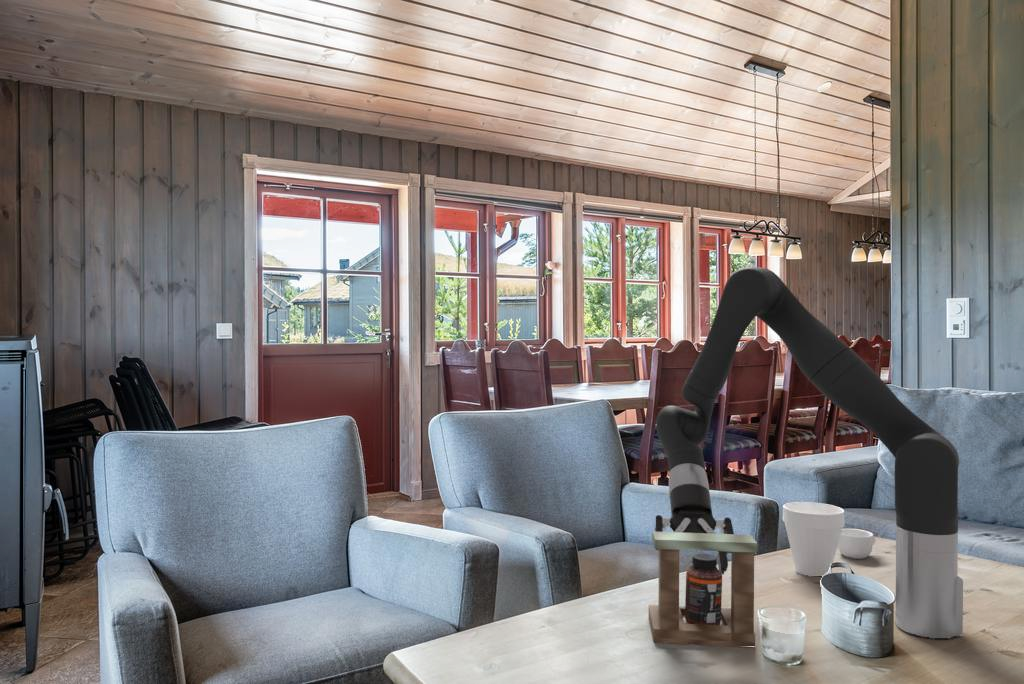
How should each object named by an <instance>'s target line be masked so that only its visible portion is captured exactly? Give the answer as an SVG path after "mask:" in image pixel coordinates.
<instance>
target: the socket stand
mask: <svg viewBox="0 0 1024 684" xmlns="http://www.w3.org/2000/svg"><path fill="white" fill-rule="evenodd" d="M651 541H652V545H653V547H654V549H655V550H656V549H659V550H658V605H657V604H648V621H649V627H650V631H651V636H652V641H653V643H655V644H656V643H657V644H673V645H674V644H675V645H677V644H678V645H694V646H695V645H696V646H697V645H699V646H716V647H732V646H733V647H734V646H740V647H739V648H742V647H741V646H755V647H756V633H755V631H754V629H755V625H754V624H755V553H758V542H757V541H756V540H755V539H754V537H753V536H752V535H751V534H741V533H740V534H735V533H734V534H724V533H716V534H711V533H681V532H674V531H662V532H655V531H652V538H651ZM681 550H682V551H701V552H703V551H706V552H716V551H728V552H731V553H730V554H731V558H730V559H731V566H730V567H731V569H730V571H731V573H730V575H731V577H730V581H731V582H730V584H731V585H730V591H731V592H730V598H731V599H730V602H731V603H730V608H726V607H721V623H720V625H705V624H689V623H688V622H687V621H686V619H685V605H683V606H681V605H680V551H681ZM734 648H735V647H734Z"/></svg>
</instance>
